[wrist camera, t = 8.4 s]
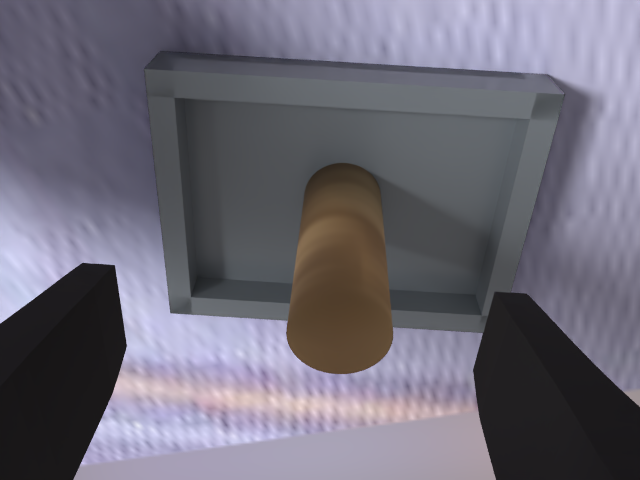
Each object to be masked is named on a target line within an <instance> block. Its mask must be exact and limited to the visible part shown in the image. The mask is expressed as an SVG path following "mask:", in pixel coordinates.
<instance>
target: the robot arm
mask: <svg viewBox="0 0 640 480" xmlns="http://www.w3.org/2000/svg"><path fill="white" fill-rule="evenodd" d="M126 347H127V344H126V337H125V331H124V324H123V317H122V311H121V304H120V297H119V291H118V284H117V277H116V270H115V265H105V264H90V263H82V264H80V265H79V266H78V267H76V268H75V269H73V270H72V271H71V272H69V273H68V274H66V275H65V276H64V277H62V278H61V279H60V280H58V281H57V282H56V283H55V284H53V285H52V286H51V287H49V288H48V289H47V290H45V291H44V292H43V293H41V294H40V295H39V296H37V297H36V298H35V299H33V300H32V301H31V302H29V303H28V304H27V305H25V306H24V307H22V308H21V309H20V310H18V311H17V312H16V313H14V314H13V315H12V316H10V317H9V318H8V319H6V320H5V321H3V322H2V323H1V324H0V480H73V479H74V477H75V475H76V472H77V470H78V468H79V466H80V464H81V462H82V459H83V457H84V455H85V453H86V451H87V449H88V446H89V444H90V442H91V440H92V438H93V436H94V433H95V431H96V429H97V427H98V425H99V422H100V420H101V418H102V416H103V414H104V411H105V409H106V407H107V405H108V402H109V400H110V398H111V396H112V393H113V390H114V387H115V384H116V381H117V378H118V375H119V371H120V368H121V364H122V361H123V358H124V354H125V351H126ZM473 372H474V380H475V389H476V397H477V403H478V410H479V417H480V421H481V425H482V429H483V433H484V437H485V440H486V444H487V448H488V452H489V455H490V459H491V463H492V466H493V470H494V474H495V477H496V480H640V407H639V406H638V405H637V404H636V403H635V402H634V401H632V400H631V399H630V398H629V397H628V396H627V395H626V394H625V393H624V392H623V391H621V390H620V389H619V388H618V387H617V386H616V385H615V384H614V383H613V382H612V381H611V380H610V379H609V378H608V377H607V376H606V375H605V374H604V373H603V372H602V371H601V370H600V369H599V368H598V367H597V366H596V365H595V364H594V363H593V362H592V361H591V360H590V359H589V358H588V357H587V356H586V355H585V354H584V353H583V352H582V351H581V350H580V349H579V348H578V347H577V346H576V345H575V344H574V343H573V342H572V341H571V340H570V339H569V338H568V337H567V336H566V334H565V333H564V332H563V331H562V330H561V329H560V328H559V327H558V326H557V325H556V324H555V323H554V322H553V321H552V320H551V319H550V317H549V316H548V315H547V314H546V313H545V312H544V311H543V310H542V309H541V308H540V307H539V306H538V305H537V304H536V303H535V302H534V301H533V300H532V299H531V298H530V296H529V295H527V294H523V293H508V292H494V296H493V299H492V303H491V307H490V310H489V314H488V318H487V321H486V325H485V329H484V332H483V336H482V340H481V343H480V347H479V351H478V354H477V358H476V362H475V365H474V369H473Z"/></svg>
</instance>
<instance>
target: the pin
mask: <svg viewBox="0 0 640 480" xmlns="http://www.w3.org/2000/svg"><path fill="white" fill-rule="evenodd" d="M286 334H287V340H288V344H289V346H290V348H291V350H292V351H293V353H294V354H295V355H296V357H297V358H298V359H300V360H301V361H302V362H303V363H305V364H306V365H308V366H310V367H312V368H314V369H316V370H319V371H322V372H326V373H332V374H349V373H355V372H359V371H362V370H365V369H367V368H370V367H371V366H373V365H375V364H376V363H378V362H379V361H380V360H381V359H382V358H383V357H384V356H385V355H386V354H387V352H388V351H389V349H390V347H391V344H392V340H393V326H392V314H391V303H390V292H389V281H388V270H387V259H386V247H385V236H384V225H383V214H382V203H381V193H380V188H379V185H378V183H377V181H376V180H375V178H374V177H373V176H372V175H371V174H370V173H369V172H368V171H367V170H365V169H364V168H362V167H360V166H357V165H354V164H350V163H336V164H331V165H328V166H325V167H323V168H322V169H320V170H318V171H317V172H316V173H315V174H314V175H313V176H312V177H311V178H310V180H309V181H308V183H307V186H306V189H305V193H304V201H303V209H302V216H301V224H300V232H299V239H298V247H297V254H296V262H295V270H294V277H293V285H292V292H291V300H290V308H289V315H288V323H287V332H286Z"/></svg>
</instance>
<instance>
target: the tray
mask: <svg viewBox="0 0 640 480" xmlns="http://www.w3.org/2000/svg"><path fill="white" fill-rule="evenodd" d="M144 73H145V83H146V92H147V101H148V110H149V120H150V129H151V138H152V147H153V157H154V166H155V175H156V184H157V194H158V203H159V212H160V221H161V231H162V240H163V249H164V258H165V268H166V277H167V286H168V295H169V305H170V313H175V314H191V315H207V316H222V317H238V318H254V319H270V320H286V321H288V315H289V308H290V300H291V292H292V285H293V277H294V270H295V262H296V254H297V247H298V239H299V232H300V224H301V216H302V209H303V201H304V193H305V189H306V186H307V183H308V181H309V180H310V178H311V177H312V176H313V175H314V174H315V173H316V172H317V171H318V170H320V169H322V168H323V167H325V166H328V165H331V164H336V163H350V164H354V165H357V166H360V167H362V168H364V169H365V170H367V171H368V172H369V173H370V174H371V175H372V176H373V177H374V178H375V180H376V181H377V183H378V185H379V188H380V193H381V203H382V214H383V225H384V236H385V247H386V259H387V270H388V281H389V292H390V303H391V314H392V326H393V327H397V328H413V329H429V330H445V331H461V332H477V333H483V332H484V329H485V325H486V321H487V318H488V314H489V310H490V307H491V303H492V299H493V296H494V292H508V293H511V289H512V285H513V282H514V278H515V274H516V271H517V267H518V264H519V260H520V256H521V253H522V249H523V245H524V242H525V238H526V234H527V231H528V227H529V223H530V220H531V216H532V213H533V209H534V205H535V202H536V198H537V194H538V191H539V187H540V183H541V180H542V176H543V173H544V169H545V165H546V162H547V158H548V154H549V151H550V147H551V143H552V140H553V136H554V132H555V129H556V125H557V122H558V118H559V114H560V111H561V107H562V103H563V100H564V96H565V94H564V93H563V92H562V90H561V89H560V88H559V87H558V86H557V85H556V84H555V82H554V81H553V80H552V79H551V78H550V77H549V76H548V75H547V74H530V73H514V72H497V71H480V70H464V69H447V68H431V67H414V66H397V65H381V64H364V63H348V62H331V61H315V60H298V59H281V58H265V57H248V56H232V55H215V54H199V53H182V52H165V51H160V52H159V53H158V54H157V55H156V56H155V58H154V59H153V60H152V61H151V62H150V63H149V64H148V65H147V66H146V67H145V68H144Z"/></svg>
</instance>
